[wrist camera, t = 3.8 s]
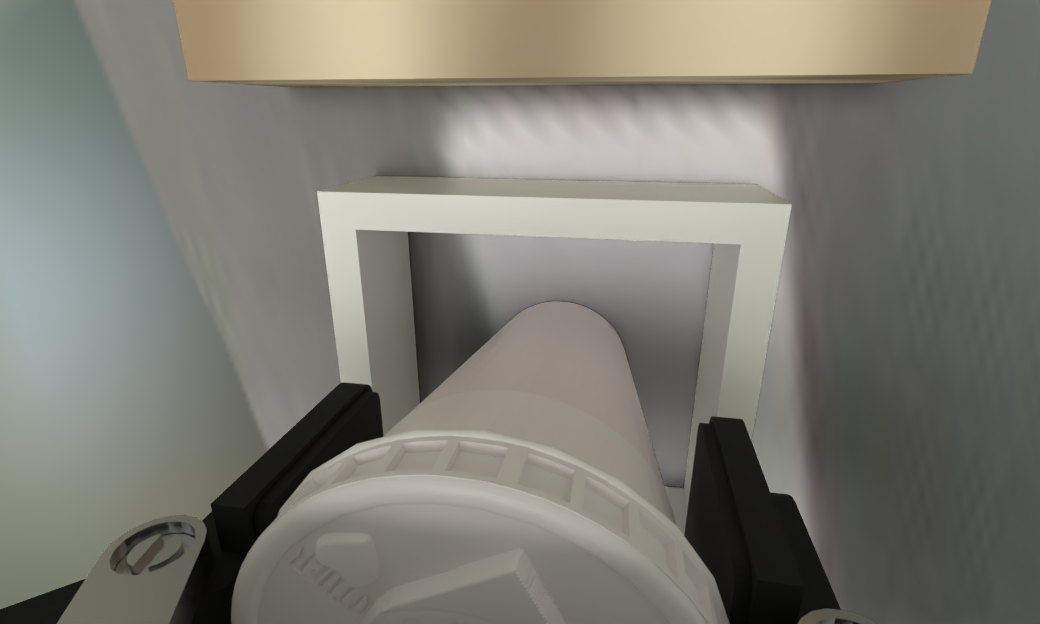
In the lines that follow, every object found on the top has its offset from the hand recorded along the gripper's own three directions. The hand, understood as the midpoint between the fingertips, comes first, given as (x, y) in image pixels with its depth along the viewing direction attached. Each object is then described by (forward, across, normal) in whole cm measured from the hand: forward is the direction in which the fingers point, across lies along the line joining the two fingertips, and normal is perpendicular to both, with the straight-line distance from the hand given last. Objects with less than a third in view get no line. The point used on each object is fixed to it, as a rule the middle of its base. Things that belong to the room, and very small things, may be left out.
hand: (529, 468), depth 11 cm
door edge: (+5, 0, -8) cm, 10 cm away
